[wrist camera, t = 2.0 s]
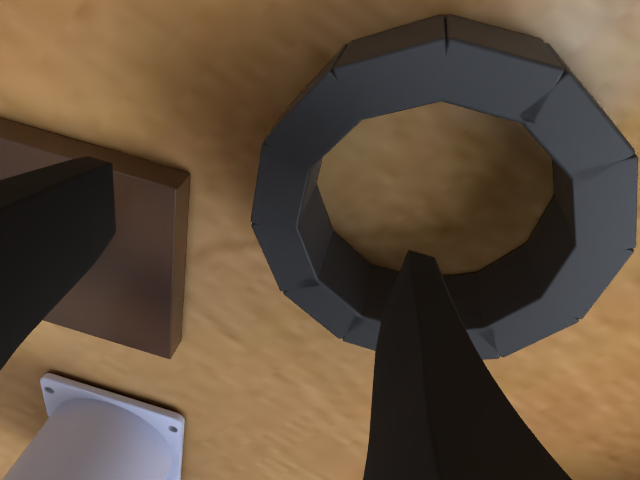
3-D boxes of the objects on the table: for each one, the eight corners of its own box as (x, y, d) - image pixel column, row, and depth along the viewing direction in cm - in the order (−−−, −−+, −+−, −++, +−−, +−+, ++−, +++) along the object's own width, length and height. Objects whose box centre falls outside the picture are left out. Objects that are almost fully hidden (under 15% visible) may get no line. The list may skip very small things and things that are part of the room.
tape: (513, 335, 18) (523, 396, 16) (261, 261, 19) (237, 309, 17) (684, 77, 12) (738, 116, 10) (311, -24, 13) (284, -9, 11)
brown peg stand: (182, 340, 22) (100, 479, 17) (0, 284, 23) (-136, 403, 17) (191, 172, 17) (77, 297, 12) (-46, 103, 17) (-263, 193, 12)
